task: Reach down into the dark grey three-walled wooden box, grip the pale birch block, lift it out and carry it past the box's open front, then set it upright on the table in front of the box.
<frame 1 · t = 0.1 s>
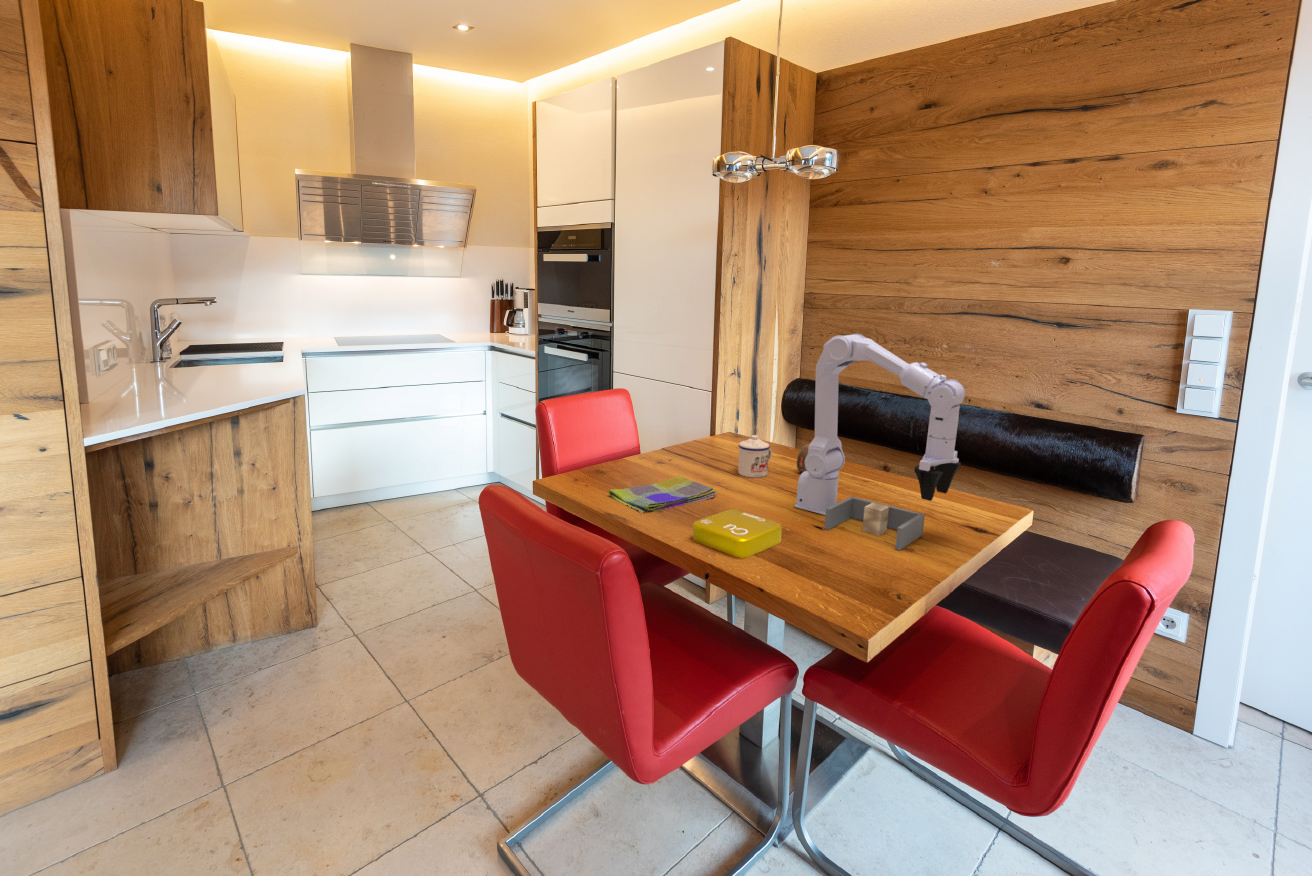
hand: (934, 495, 148), 10 cm above the table, tool pointing down, fingers open, 7 cm apart
tin: (811, 470, 204), on the table
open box: (872, 532, 154), on the table
birch block: (874, 531, 155), on the table
element tile: (736, 542, 148), on the table
teacup with lid: (755, 473, 199), on the table
dish towel: (662, 498, 177), on the table
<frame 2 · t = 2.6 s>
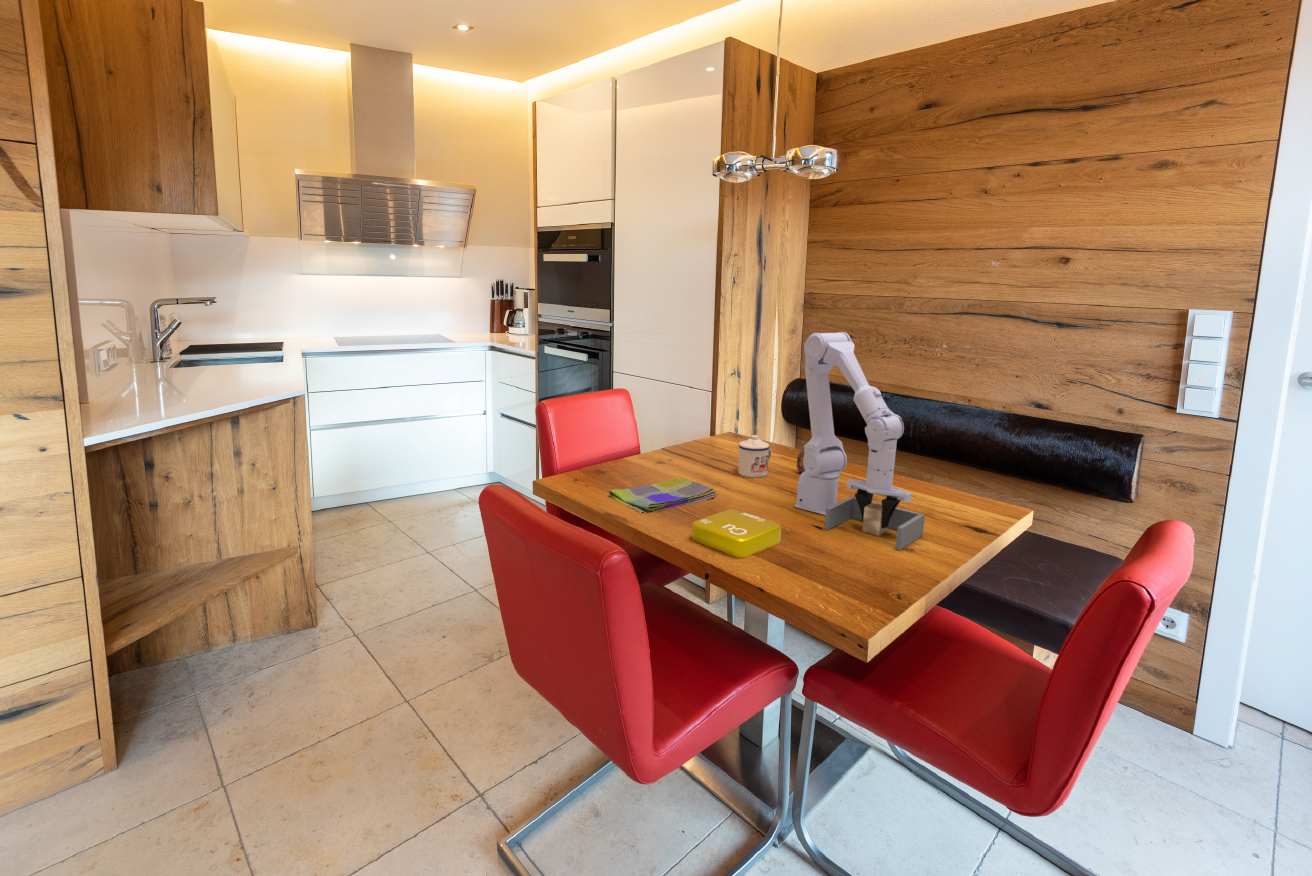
hand: (875, 524, 154), 2 cm above the table, tool pointing down, fingers closed on birch block, 4 cm apart
birch block: (874, 531, 155), on the table, touching gripper
everything else where it was.
when the fingers open (2 cm above the table, at t = 8.5 s): birch block stays where it is, on the table.
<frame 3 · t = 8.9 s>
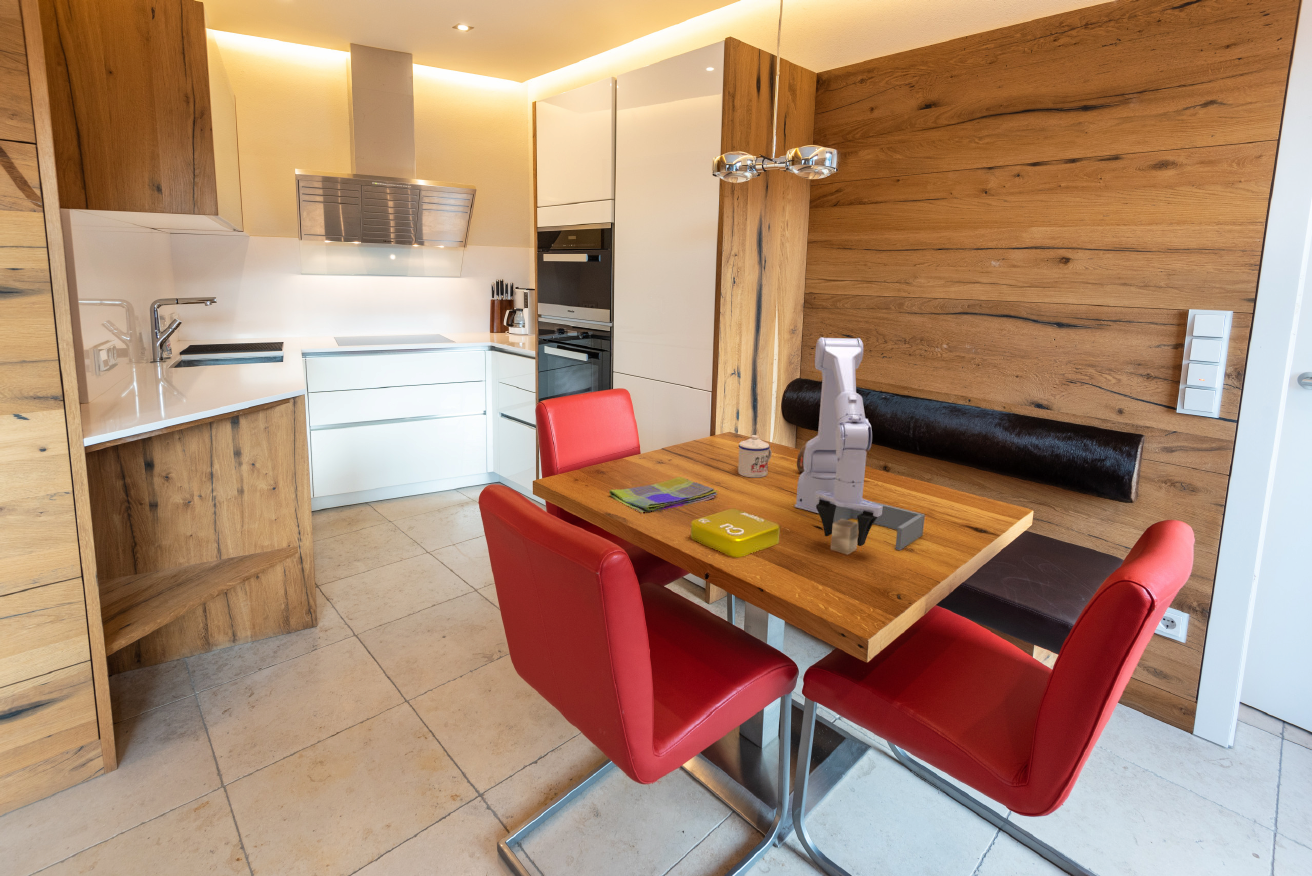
hand: (844, 539, 143), 2 cm above the table, tool pointing down, fingers open, 7 cm apart
birch block: (843, 549, 144), on the table
everything else where it was.
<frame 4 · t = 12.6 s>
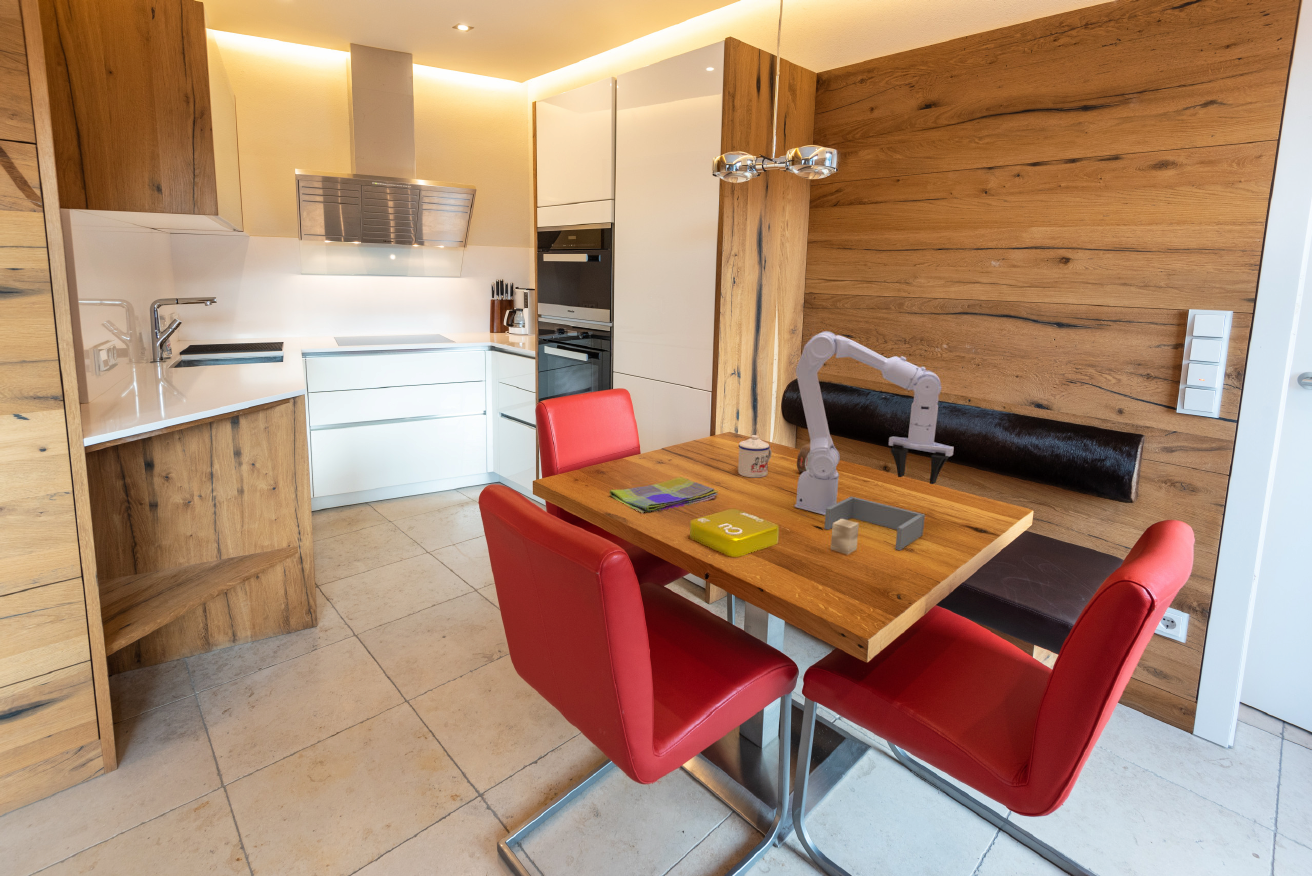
hand: (916, 479, 159), 10 cm above the table, tool pointing down, fingers open, 7 cm apart
nothing on the table moved.
at the end: birch block inside the target area (0.0 cm from its centre), on the table; birch block tilted 0°; the gripper is holding nothing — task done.
